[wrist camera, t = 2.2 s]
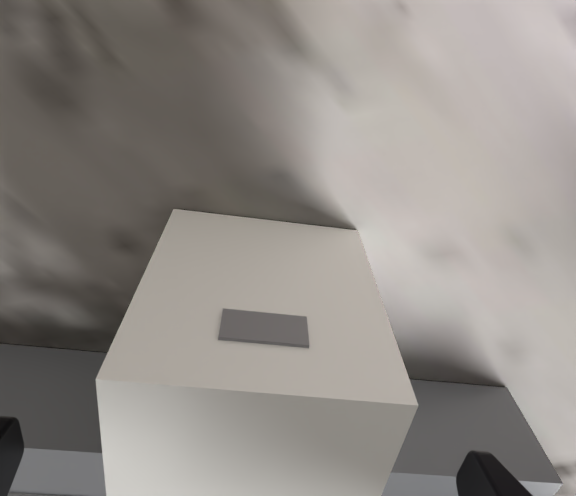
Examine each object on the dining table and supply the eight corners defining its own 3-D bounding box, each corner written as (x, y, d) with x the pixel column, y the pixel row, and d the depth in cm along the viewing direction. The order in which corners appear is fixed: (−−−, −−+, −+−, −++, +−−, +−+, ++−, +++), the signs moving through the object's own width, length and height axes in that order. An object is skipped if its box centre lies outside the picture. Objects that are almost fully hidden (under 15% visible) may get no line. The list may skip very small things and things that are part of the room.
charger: (358, 227, 12) (419, 402, 7) (312, 413, 16) (330, 617, 11) (173, 206, 12) (94, 375, 7) (169, 402, 16) (116, 610, 10)
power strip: (507, 387, 16) (575, 505, 12) (447, 497, 19) (487, 616, 15) (-238, 322, 13) (-423, 443, 10) (-163, 460, 17) (-282, 588, 13)
